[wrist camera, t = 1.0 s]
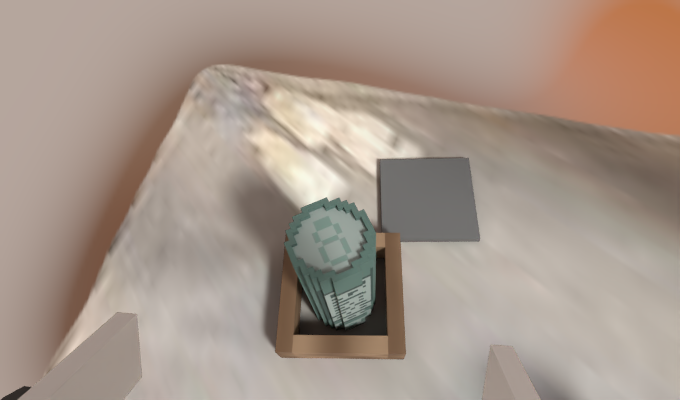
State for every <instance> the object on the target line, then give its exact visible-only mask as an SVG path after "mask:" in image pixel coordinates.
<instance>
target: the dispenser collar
mask: <svg viewBox="0 0 680 400" xmlns="http://www.w3.org/2000/svg"><path fill="white" fill-rule="evenodd" d="M287 241H289V239H288V236H287V234H286V238H285V242H287ZM376 258H385V293H386V329H387V336H354V335H299V326H300V311H301V296H302V284H301V282H300V280H299V278H298V276H297V274H296V272H295V270H294V267H293V265H292V262H291V260H290V257H289V255H288V252H287V250H286V247H285V249H284V260H283V271H282V282H281V294H280V305H279V316H278V327H277V338H276V349H275V353H277V354H278V355H279V356H280V357H282V358H351V359H404V357H405V355H406V347H405V326H404V305H403V284H402V263H401V242H400V233H376Z"/></svg>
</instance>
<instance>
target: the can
mask: <svg viewBox="0 0 680 400" xmlns="http://www.w3.org/2000/svg"><path fill="white" fill-rule="evenodd" d="M301 210H302V213H300V214H298V215H295V216H293V217H292V218H293V221H294V222H292V223H289V226H290V228H291V229H288V230H286V234H287V236H288V239H289V241H287V242H284V245H285V247H286V250H287V252H288V255H289V257H290V260H291V262H292V265H293V267H294V270H295V272H296V274H297V276H298V278H299V280H300V282H301V284H302V286H303V288H304V290H305V292H306V295H307V297H308V299H309V301H310V303H311V305H312V307H313V309H314V311H315V313H316V315H317V317H318V319H319V320H320V319H323V321H324V323H325V326H327V325H329V324H330V327H331V328H333V327H335V328H336V330H339V329H341V328H343V327H345V329H346V331H347V330H349V329H351V328H353V327H356V326H358V325H360V324H362V323H364V322H365V317H367V316H370V315H371V310H373V305H374V304H375V281H376V232H375V230H374V228H373V226H372V224H371V222H370V220H369V218H368V216H367V214H366V213H365V211H364V209H363V210H361V211H358V209H357V207H356V205H355V203H351V204H348V202H347V200H345V201H343V202H341V200H340V198H337V199H335V200H332V201H330V202H329V201H328V199H327V197H326V198H324V199H322V200H319V201H317V202H314V203H312V204H309V205H307V206H304V207H302V208H301Z"/></svg>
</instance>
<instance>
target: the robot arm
mask: <svg viewBox="0 0 680 400" xmlns="http://www.w3.org/2000/svg"><path fill="white" fill-rule="evenodd" d="M141 377H142V369H141V357H140V345H139V332H138V320H137V314H132V313H121V312H117V313H116V314H115V315H114V316H113V317H111V318H110V319H109V320H108V321H107V322H106V323H105V324H103V325H102V326H101V327H100V328H99V329H98V330H97V331H95V332H94V333H93V334H92V335H91V336H90V337H89V338H87V339H86V340H85V341H84V342H83V343H82V344H81V345H79V346H78V347H77V348H76V349H75V350H74V351H73V352H71V353H70V354H69V355H68V356H67V357H66V358H65V359H63V360H62V361H61V362H60V363H59V364H58V365H57V366H55V367H54V368H53V369H52V370H51V371H50V372H49V373H47V374H46V375H45V376H44V377H43V378H42V379H41V380H39V381H38V382H37V383H36V384H35V385H34V386H33V387H26V386H24V387H22V388H20V389H18V390H16V391H14V392H13V393H11V394H9V395H7V396H5V397H3V398H2V399H1V400H124V399H125V397H126V396H127V395H128V394H129V392H130V391H131V390H132V389H133V387H134V386H135V385H136V384H137V382H138V381H139V380H140V379H141ZM482 400H541V399H540V397H539V395H538V394H537V392H536V390H535V388H534V386H533V384H532V382H531V380H530V378H529V377H528V375H527V373H526V371H525V369H524V367H523V365H522V363H521V361H520V360H519V358H518V356H517V354H516V352H515V350H514V348H513V346H502V345H491V346H490V352H489V359H488V365H487V371H486V378H485V384H484V390H483V397H482Z"/></svg>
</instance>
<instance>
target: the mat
mask: <svg viewBox="0 0 680 400" xmlns="http://www.w3.org/2000/svg"><path fill="white" fill-rule="evenodd" d="M380 178H381V216H382V233H400V242H449V241H479V240H480V234H479V227H478V220H477V213H476V206H475V199H474V192H473V186H472V179H471V172H470V165H469V158H436V159H384V160H380Z"/></svg>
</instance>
